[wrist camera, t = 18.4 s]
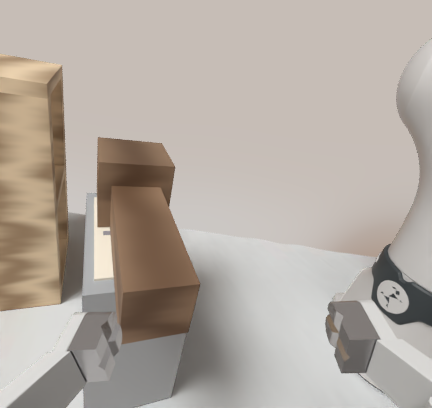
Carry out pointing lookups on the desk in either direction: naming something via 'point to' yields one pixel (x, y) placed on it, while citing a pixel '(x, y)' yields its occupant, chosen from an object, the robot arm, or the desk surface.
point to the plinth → (131, 352)
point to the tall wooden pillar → (32, 184)
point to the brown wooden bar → (144, 240)
